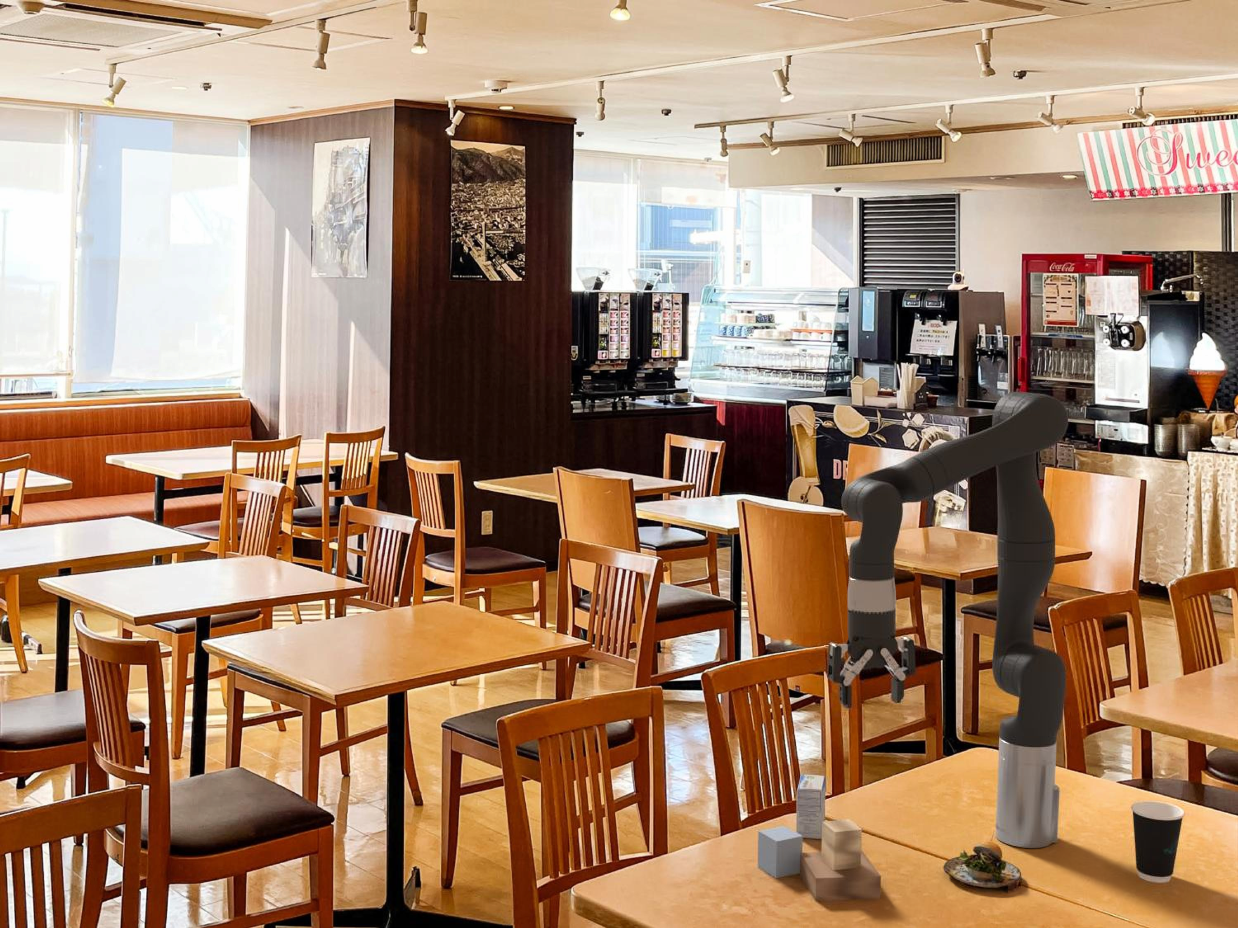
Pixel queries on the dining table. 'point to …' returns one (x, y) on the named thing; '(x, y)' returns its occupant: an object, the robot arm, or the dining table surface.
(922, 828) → the dining table surface
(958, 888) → the dining table surface
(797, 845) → the slate block
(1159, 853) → the dixie cup
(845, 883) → the walnut block
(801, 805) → the medicine box
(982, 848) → the burger
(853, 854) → the oak block
